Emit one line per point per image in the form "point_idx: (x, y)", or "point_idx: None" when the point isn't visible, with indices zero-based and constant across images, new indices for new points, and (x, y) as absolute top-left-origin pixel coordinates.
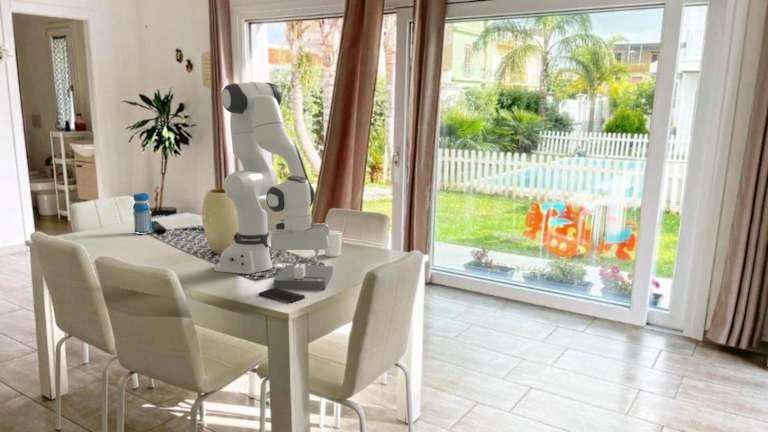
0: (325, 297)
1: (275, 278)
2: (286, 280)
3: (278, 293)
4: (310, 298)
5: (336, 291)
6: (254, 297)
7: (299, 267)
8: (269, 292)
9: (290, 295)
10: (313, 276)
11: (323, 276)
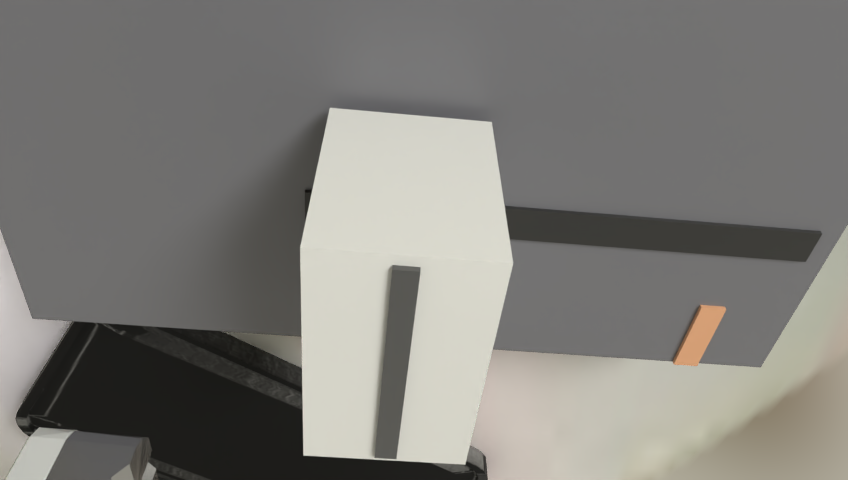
0: (674, 455)
1: (15, 253)
2: (223, 330)
3: (219, 422)
4: (537, 469)
5: (834, 334)
6: (21, 446)
7: (402, 454)
8: (113, 399)
9: (352, 461)
10: (633, 166)
11: (809, 169)
